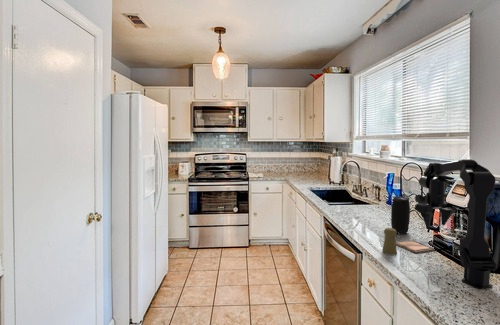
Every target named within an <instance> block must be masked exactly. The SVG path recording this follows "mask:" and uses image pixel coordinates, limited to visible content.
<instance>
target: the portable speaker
mask: <svg viewBox="0 0 500 325" xmlns="http://www.w3.org/2000/svg"><path fill="white" fill-rule="evenodd" d="M410 205H411V204H410V197H407V196H406V197H404V196H401V195H400V196H399V195H395V196H393V198H392V203H391V210H390V211H391V212H390V213H391V215H390V217H391V218H390V227H391V228H393V229H395V230H396V231H397V234H399V235H407V233H408V232H409V228H410V220H411V218H410V216H411V206H410Z"/></svg>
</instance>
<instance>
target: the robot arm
mask: <svg viewBox="0 0 500 325" xmlns="http://www.w3.org/2000/svg"><path fill="white" fill-rule="evenodd" d="M454 172H459V178H460V179H461V180H462V182H463V184H464V185H463V186H464V187H463V188H464V189H465V192H466V193H467V195H468V196H469V197H468V198H469V200H468V213H467V214H468V215H467V229H466V230H467V231H466V235H465V236H464V237H460V238H459V246H458V249H459V250H458V253H459V259H460V260H459V261H460V265H462V267H463V279H461V282H463V283H465V284H467V285H469V286H470V287H473V288H475V289H478V290H484V289H489V288H491V287H493V285H492V284H491V283H490V280H491V279H490V277H491V276H490V275H491V271H495V270H496V269H497V264H496V262H495V260H494V257H493V256H492V253H491V250H490V244H489V243H488V242H487V240H486V239H485V235H486V234H485V233H486V222H487V220H486V219H487V206H488V198H489V196H490V195H491V194H492V193H493V192H494V190H495V185H496V181H497V180H496V177H495V176H494V174H493V173H492V172H491V171H490V170H489V169H488V168H486V167H484V166H482V165H480V164H479V163H478V161H476V160H475V159H467V158H466V159H465V158H464V159H459V160H454V161H449V162H429V163H428V165H427V166H426V169H425V171H424V172H423V175H422V176H420V177H419V179H418V184H419V186H421V187H422V188H424V189H429V192H428V191H427V192H426V195H422V194H416V195H415V197H414V200H415V202H416V204H415V205H414V211H417V213H419V214H421V216H422V219H423V222H424V225H425V227H427V228H430V225H431V222H432V219H433V216H434V210H438V209H439V211H440V216H441V217H440V218H441V226H445V225H446V224H447V223H448V221H449V220H450V218H451V216H452V215H453V214H454V213H455V212H456V211H458V209H456V208H455V207H453V206H451V205H450V204H448V203H446V202H444V201H445V197H448V193H446V183H448V182H449V180H448V179H447V178H446V176H448V175H451V174H452V173H454Z"/></svg>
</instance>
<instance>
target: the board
mask: <svg viewBox="0 0 500 325" xmlns="http://www.w3.org/2000/svg"><path fill="white" fill-rule="evenodd" d="M431 240H432V239H430V238H421V239H413V240H407V241H406V240H405V241H400V242H396V247H400V248H402V249H404V250H407V251H409V252H410V253H411V252H412V253H413V254H417V255H418V254H423V253H428V252H435V251H434V250H435V249H434V247H432V246H430V245H429V244H428V242H429V241H431Z"/></svg>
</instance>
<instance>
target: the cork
mask: <svg viewBox="0 0 500 325" xmlns="http://www.w3.org/2000/svg"><path fill="white" fill-rule="evenodd" d="M383 234H384V235H385V236H384V240H383V246H382V251H381V252H382V253H383V254H386V255H389V256H396V255H397V254H398V251H397V245H396V243H397V241H396V236H397V234H398V232H397V231H396V230H395V229H393V228H392V227H386V228H384V230H383Z"/></svg>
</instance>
